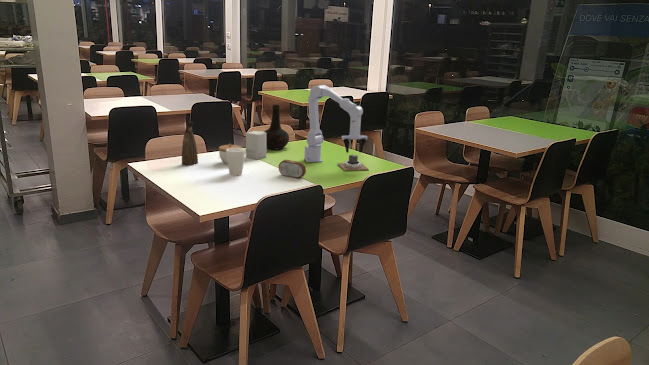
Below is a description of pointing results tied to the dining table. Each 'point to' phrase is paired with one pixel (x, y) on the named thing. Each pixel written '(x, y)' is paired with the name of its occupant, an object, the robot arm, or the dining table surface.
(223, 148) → the lidded bowl
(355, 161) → the dark grey cylinder peg
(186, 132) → the statue
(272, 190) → the dining table surface
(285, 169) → the tin
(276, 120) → the dark vase
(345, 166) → the octagonal socket plate
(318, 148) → the robot arm
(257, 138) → the supplement box
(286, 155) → the dining table surface
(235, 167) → the foam cup
